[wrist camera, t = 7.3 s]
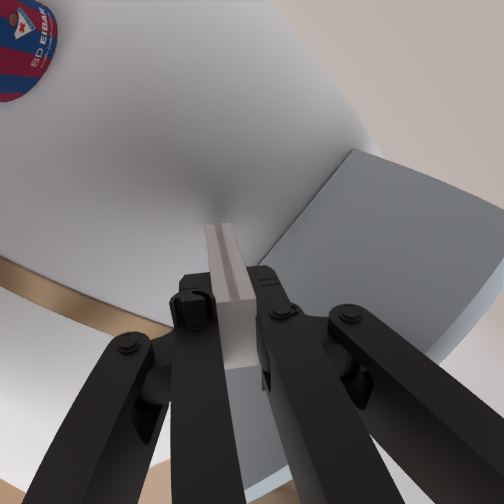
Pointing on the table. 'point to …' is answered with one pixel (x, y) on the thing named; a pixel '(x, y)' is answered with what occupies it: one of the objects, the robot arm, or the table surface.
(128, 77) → the table surface
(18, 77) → the mug
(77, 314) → the doorframe
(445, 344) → the door
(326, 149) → the table surface
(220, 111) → the table surface
